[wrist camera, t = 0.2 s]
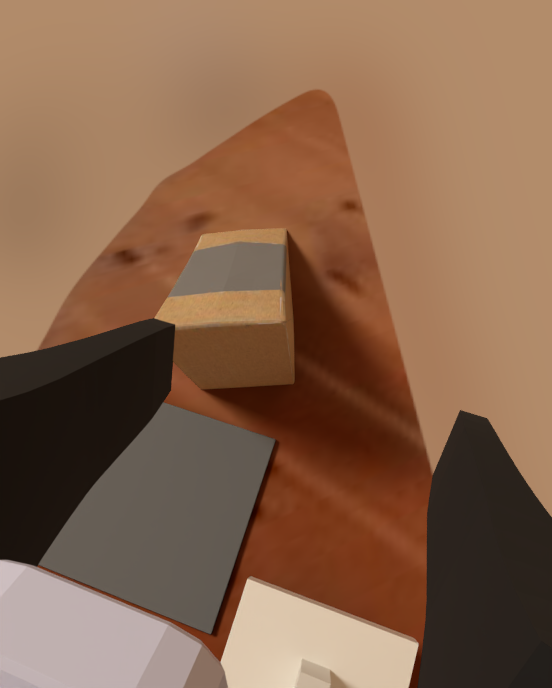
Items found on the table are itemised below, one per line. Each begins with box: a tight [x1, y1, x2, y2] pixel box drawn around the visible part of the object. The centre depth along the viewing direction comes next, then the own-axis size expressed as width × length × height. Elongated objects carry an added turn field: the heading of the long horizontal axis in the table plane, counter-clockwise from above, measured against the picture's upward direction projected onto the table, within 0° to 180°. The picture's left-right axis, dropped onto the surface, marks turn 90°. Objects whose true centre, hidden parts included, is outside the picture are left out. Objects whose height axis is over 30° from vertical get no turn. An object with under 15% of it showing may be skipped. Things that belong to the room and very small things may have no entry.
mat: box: [38, 403, 276, 634], centre depth 42 cm, size 15×15×1 cm
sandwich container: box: [155, 228, 295, 390], centre depth 40 cm, size 9×15×15 cm, turn 2°
